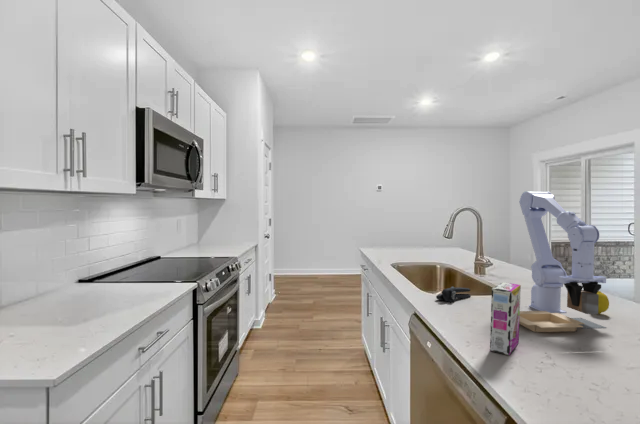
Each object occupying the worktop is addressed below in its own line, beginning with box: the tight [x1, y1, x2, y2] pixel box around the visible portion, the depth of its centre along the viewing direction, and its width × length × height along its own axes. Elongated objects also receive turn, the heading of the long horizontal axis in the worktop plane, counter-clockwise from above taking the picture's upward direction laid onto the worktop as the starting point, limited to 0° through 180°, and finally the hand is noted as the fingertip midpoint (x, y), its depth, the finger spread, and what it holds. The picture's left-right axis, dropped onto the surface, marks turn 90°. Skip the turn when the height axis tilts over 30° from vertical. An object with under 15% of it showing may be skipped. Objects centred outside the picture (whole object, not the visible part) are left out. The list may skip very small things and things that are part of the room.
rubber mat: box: [571, 317, 607, 329], centre depth 118 cm, size 10×8×1 cm
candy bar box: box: [489, 282, 522, 356], centre depth 98 cm, size 11×5×16 cm, turn 141°
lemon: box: [597, 290, 610, 315], centre depth 129 cm, size 6×6×8 cm
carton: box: [519, 310, 584, 333], centre depth 115 cm, size 16×18×2 cm
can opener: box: [435, 286, 472, 303], centre depth 148 cm, size 18×7×6 cm, turn 121°
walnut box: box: [566, 289, 599, 315], centre depth 118 cm, size 8×4×6 cm, turn 5°
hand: (581, 305), depth 118 cm, fingers closed on walnut box, 4 cm apart
